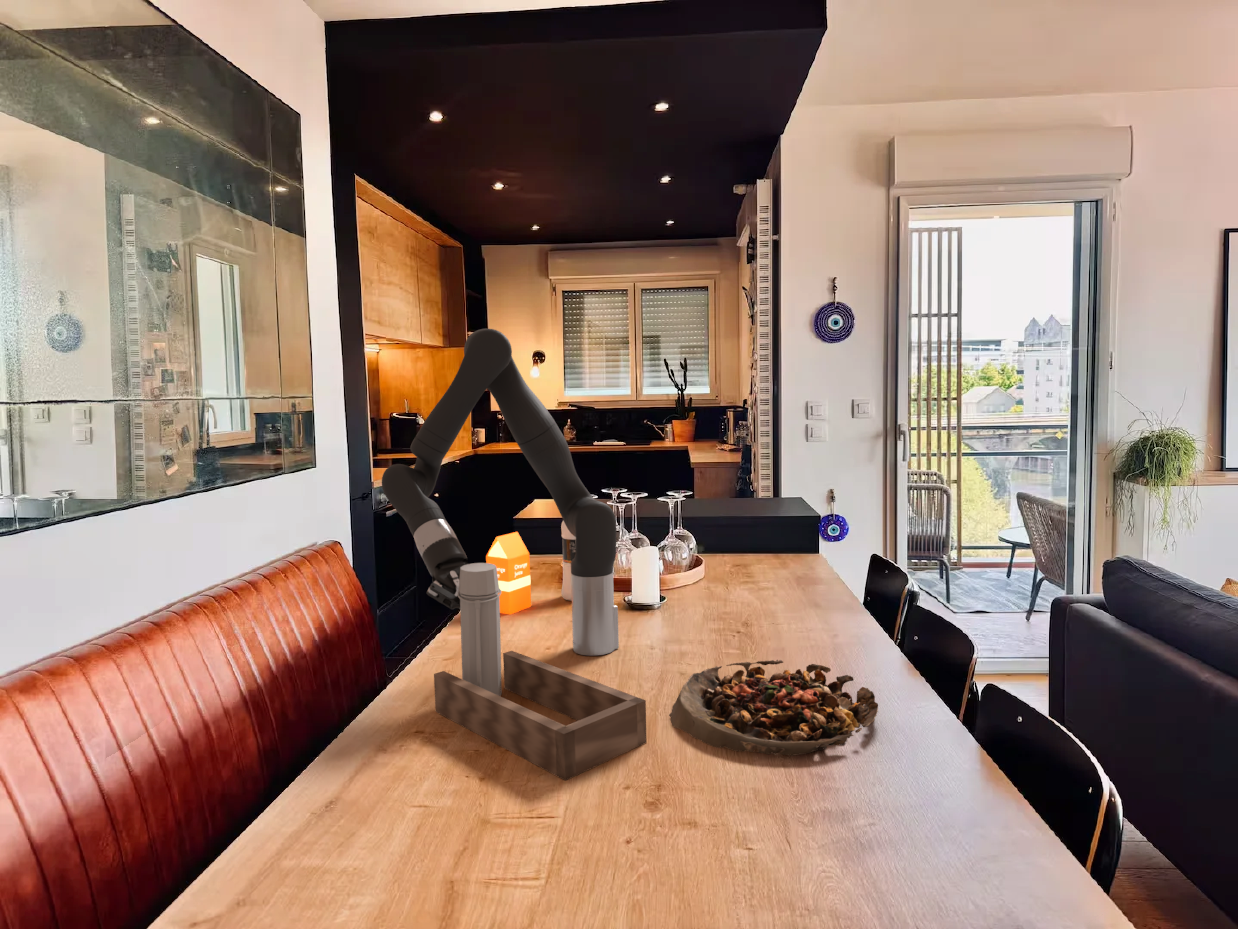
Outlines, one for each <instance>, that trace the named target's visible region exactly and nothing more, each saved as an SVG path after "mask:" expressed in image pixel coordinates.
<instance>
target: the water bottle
mask: <svg viewBox="0 0 1238 929" xmlns="http://www.w3.org/2000/svg"><path fill="white" fill-rule="evenodd" d="M498 593H499V595H498ZM459 594H460V595H461V597H460V595H459ZM500 595H501V590H500V588H499V584H498V576H497V567H496V566H495V565H494V564H490V563H486V562H474V563H469V564H467V565H463V566H462V567H460V579H459V592H458V595H457V596H458V597H459V599H460V609H459V610H460V640H461V641H460V642H461V643H460V644H461V645H460V646H461V673H462V674H461V677H462V678H461V679H463V680H465V681H467V682H469V683H472V684H474V685H476V686H478V687H481V688H483V689H485V690H487V691H489V692H492V693H494V694H496V695H498V696H501V697H502V695H503V692H502V691H503V690H502V686H503V685H502V652H501V650H502V648H501V646H502V645H501V643H502V641H501V640H502V639H501V613H500Z"/></svg>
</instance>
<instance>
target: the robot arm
mask: <svg viewBox="0 0 1238 929" xmlns="http://www.w3.org/2000/svg"><path fill="white" fill-rule="evenodd" d="M512 352H513V350H512V345H511V342H510V340H509V339H508V337H507V336H506V335H505V334H504V333H502V332H501V331H499V330H497V329H494V328H481V329H477V330H475V331H473V332H472V333H470V335H468V337H467V339H466V340H465V344H464V347H463V354H464V356H463V357H462V358H463V359H462V361H461V363H460V366H459V368H458V370H457V372H456V375H455V376H454V379H453V380H452V382H451V383H450V385H449V386H448V388H447V390H446V391H445V392H444V394H443V395H442V397H441V398H440V399H439V400H438V402H437V403H436V405H435V406H433V409H432V410H431V411H430V412H429V414H428V416H427V417H426V419H425V420H424V422H423V424H422V426H421V427H420V429H419V430H418V432H417V434H416V435H415V436H414V439H413V440H412V442H411V445H410V447H409V448H410V452H411V453H412V454H413V455H414V456H415V457H416V459H415V460H416V461H415V464H414V467H412V466H409V465H406V464H403V463H402V464H401V463H395V464H391V465H390V466H388V467H387V468H386V469H384V471H383V474H382V477H381V487H382V492H383V494H384V495H385V497H386V499H387V501H388V502H389V503H390V504H391V506H392V507H393V508H394V509H395V511H396V512H397V513H398V514H399V515H400V516H401V517H402V519H403V520H404V521H405V523H406V524H407V527H408V529H409V532H410V533H411V535H412V537H413V538H414V539H413V540H414V542H415V545H416V548H417V550H418V552H419V553H418V554H420V557H421V559H422V560H423V562H424V565H425V566H426V569H427V570H428V573H429V575H430V576H431V577H432V582H431V583H430V586H429V587H428V589H427V591H426V595H427V596H428V597H430V598H432V599H434V600H435V601H437V602H438V603H440V604H441V605H444V606H445V607H447V608H449V609H450V610H455V609H459V610H460V599H459V597H458V596H457V595H458V592H459V579H460V567H462V566H463V565H467V564H470V563H469V560H468V557H467V555H466V552H465V551H464V549H463V547H462V545H461V543H460V541H459V539H458V537H457V534H456V533H455V531H454V530H453V528H452V526H450V524H449V523H448V521H447V519H446V518H445V515H444V514H443V511H442V510H441V508H440V506H439V505H438V503H437V502H435V501H434V500H433V499H431V498H429V497H430V496H431V495H432V493H433V491H434V489H435V487H436V485H437V480H438V477H439V474H440V471H441V468H442V463H443V460H444V458H445V457H446V455H447V453H449V450H450V448H451V447H452V445H453V443H455V440H456V439H457V437H458V436H459V433H460V432H461V430H462V428H463V427H464V425H465V423H466V421H467V419H468V417H469V415H470V414H471V412H472V411H473V409H474V408H475V406H476V404H477V403H478V402H479V400H480V399H481V398H482V396H483V394H484V393H485V392H486V390H487V389H488V391H489V392H490V393H491V395H492V397H493V398H494V401H495V402H496V404H497V406H498V409H499V410H500V412H501V414H502V418H503V419H504V421H505V423H506V426H507V427H508V430H510V433H511V435H512V437H513V439H514V440H515V442H516V444H517V446H518V447H519V449H520V451H521V452H522V454H523V455H524V458H525V459H526V460H527V461H528V463H529V465H530V466H531V468H532V469H533V471H534V473H536V475H537V476H538V478H539V479H540V481H541V482H542V484H543V485H544V486H545V487H546V488H547V490H548V492H549V493H550V495H551V497H552V499H553V501H554V503H555V506H556V507H557V509H558V511H559V513H560V516H561V519H562V521H563V520H564V523H565V525H566V527H567V528H568V530H569V531H570V533H571V534H572V535H574V536H575V537H576V554H575V558H574V559H573V560H572V561H571V591H572V601H571V619H572V621H571V624H572V650H573V652H574V653H575V654H578V655H581V656H591V657H593V656H603V655H606V654H610V653H612V652H614V651H615V650H617V649H619V641H620V640H619V608H618V605H616V604H615V601H614V600H615V598H614V597H615V596H614V594H615V593H614V592H615V591H614V590H615V588H614V587H615V586H614V563H615V561H616V555H617V520H616V515H615V512H614V511H613V509H612V507H611V506H610V505H609V504H607V503H605V502H603V501H600V500H597V499H595V498H594V497H593V496H592V495H591V493H590V492H589V491H588V489H587V487H585V485H584V483H583V482H582V480H581V479H580V477H579V475H578V473H577V470H576V468H575V465H574V461H573V458H572V453H571V450H570V446H569V445H568V444H569V443H568V442H567V440H566V438H565V436H564V434H563V433H562V431H561V429H560V428H559V426H558V424H557V423H556V421H555V419H554V417H553V416H552V415H551V413H550V411H548V409H547V407H546V406H545V405H544V404H543V402H542V401H541V400H540V399H539V397H538V396H537V395H536V394H535V393H534V391H533V390H532V389H531V388H530V387H529V385H528V384H527V382H526V381H525V380H524V378H523V376H522V375H521V372H520V371H519V369H518V367H517V364H516V362H515V360H514V358H513V353H512ZM459 595H460V594H459ZM460 597H461V595H460Z"/></svg>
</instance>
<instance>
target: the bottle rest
mask: <svg viewBox="0 0 1238 929" xmlns="http://www.w3.org/2000/svg"><path fill="white" fill-rule="evenodd" d="M502 654H503V655H502V658H503V680H504V681H503V684H504V689H505V690H506V691H509V692H511V693H514V694H516V695H518V696H520V697H523V698H525V699H527V700H530V701H532V702H535V703H537V704H540V705H541V706H543V707H545V708H547V709H550V710H553V711H555V712H558V713H560V714H562V715H564V716H566V717H569V718H571V719H573V720H576V721H574V722H572V723H569V724H567V725H565V724H562V723H561V722H559V721H556V720H554V719H551V718H549V717H547V716H545V715H543V714H540V713H538V712H536V711H534V710H531V709H529V708H527V707H525V706H523V705H520V704H518V703H515V702H514V701H511V700H509V699H507V698H505V697H502V695H501V696H498V695H496V694H494V693H492V692H489V691H487V690H485V689H483V688H481V687H478V686H476V685H474V684H472V683H469V682H467V681H465V680H463V679H462V678H460V677H458V676H455V675H454V674H452V673H449V672H446V670H442V671H438V672H435V673H433V685H434V686H433V687H434V704H435V713H437V714H439V715H441V716H443V717H444V718H446V719H447V720H450V721H452V722H453V723H456V724H457V725H459V726H462V727H463V728H465V729H467V730H469V731H471V732H473V733H475V734H477V735H478V736H481V737H482V738H484V739H487V740H488V741H489V742H492V743H494V744H495V745H498V746H499V747H501V748H503V749H505V750H507V751H508V752H511V753H513V754H514V755H517V756H518V757H520V758H522V759H524V760H526V761H527V762H530V763H532V764H533V765H535V766H537V767H539V768H541V769H543V770H545V771H547V772H548V773H550V774H552V775H555V776H556V777H558V778H559V779H562V780H564V781H567V780H569V779H572V778H574V777H576V776H578V775H580V774H582V773H585V772H586V771H589V770H591V769H593V768H595V767H597V766H599V765H601V764H604V763H606V762H608V761H610V760H613V759H615V758H617V757H618V756H621V755H623V754H625V753H627V752H629V751H632V750H634V749H636V748H638V747H640V746H642V745H644V744H647V709H646V708H647V705H646V704H647V700H646V699H644V698H641V697H638V696H636V695H632V694H631V693H626V692H624V691H621V690H619V689H616V688H614V687H611V686H609V685H605V684H603V683H601V682H597V681H595V680H592V679H589V678H587V677H584V676H581V675H578V674H575V673H573V672H572V671H568V670H565V669H563V668H560V667H557V666H554V665H552V664H549V663H546V662H544V661H541V660H538V659H536V658H534V657H530V656H527V655H525V654H522V653H520V652H516V651H514V650H508V651H506V652H503V653H502Z"/></svg>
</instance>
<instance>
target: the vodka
mask: <svg viewBox="0 0 1238 929" xmlns="http://www.w3.org/2000/svg"><path fill="white" fill-rule="evenodd" d="M560 525H561V526H560V527H561V528H560V529H561V534H560V535H561V538H562V540H561V542H562V562H561V564H562V587H561V597H562V599H564V600H565V601H569V602H572V591H571V561H572V560H573V559H574V558H575V554H576V537H575V536H574V535H572V534H571V533H570V531H569V530H568V528H567V527H566V525H565V523H564V520H563V519H562V522H561V524H560Z"/></svg>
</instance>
